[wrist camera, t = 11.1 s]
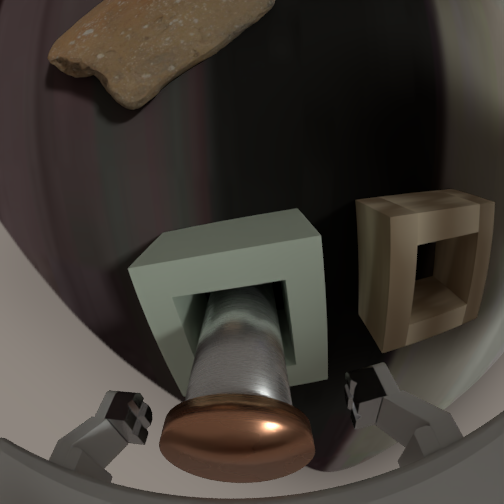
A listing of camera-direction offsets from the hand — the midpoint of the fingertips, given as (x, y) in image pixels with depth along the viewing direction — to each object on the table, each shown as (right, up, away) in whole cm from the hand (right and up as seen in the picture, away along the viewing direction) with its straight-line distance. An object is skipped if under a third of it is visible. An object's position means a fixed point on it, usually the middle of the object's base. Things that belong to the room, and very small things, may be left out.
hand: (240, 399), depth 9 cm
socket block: (0, +3, +10) cm, 10 cm away
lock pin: (0, +3, +10) cm, 10 cm away
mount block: (+13, +6, +9) cm, 16 cm away
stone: (-6, +22, +4) cm, 23 cm away
